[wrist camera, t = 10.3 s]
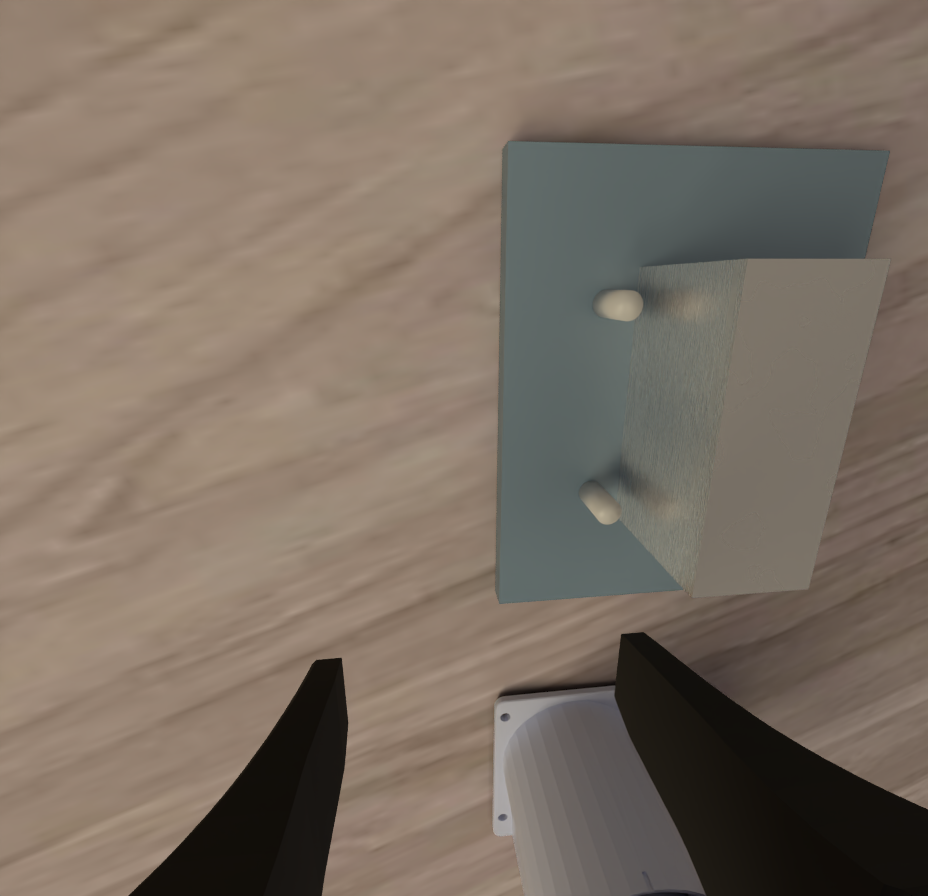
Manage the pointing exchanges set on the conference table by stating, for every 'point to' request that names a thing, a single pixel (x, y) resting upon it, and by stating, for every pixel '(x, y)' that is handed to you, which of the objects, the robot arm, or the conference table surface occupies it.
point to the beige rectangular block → (742, 414)
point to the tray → (624, 321)
